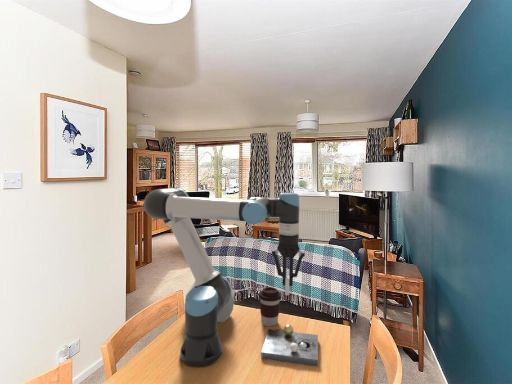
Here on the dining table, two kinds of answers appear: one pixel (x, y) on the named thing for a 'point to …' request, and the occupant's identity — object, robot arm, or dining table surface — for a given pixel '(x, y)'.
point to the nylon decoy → (294, 347)
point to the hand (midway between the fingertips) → (287, 293)
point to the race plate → (280, 350)
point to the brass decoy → (288, 330)
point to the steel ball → (303, 345)
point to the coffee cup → (269, 306)
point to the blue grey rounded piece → (227, 308)
